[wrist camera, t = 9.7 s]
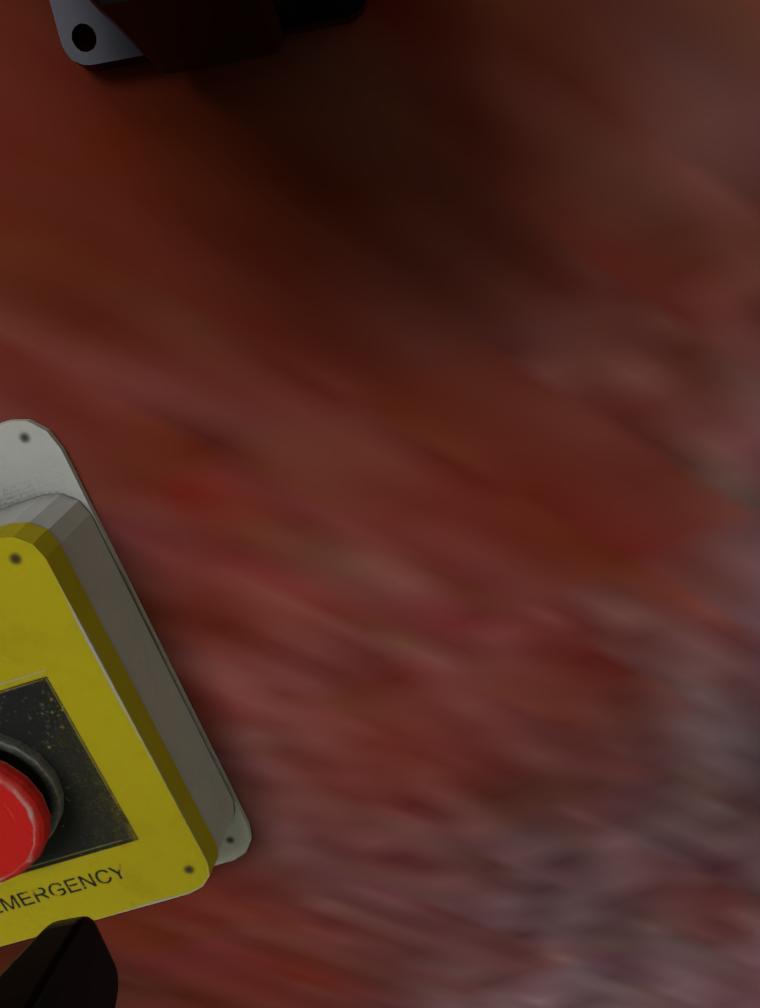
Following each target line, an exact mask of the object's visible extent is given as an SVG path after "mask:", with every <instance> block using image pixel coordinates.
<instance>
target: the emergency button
mask: <svg viewBox="0 0 760 1008" xmlns="http://www.w3.org/2000/svg"><path fill="white" fill-rule="evenodd" d="M251 839H252V834H251V829H250V824H249V821H248V819H247V817H246V815H245V813H244V811H243V809H242V807H241V805H240V803H239V801H238V799H237V797H236V795H235V793H234V791H233V789H232V787H231V785H230V783H229V781H228V778H227V776H226V774H225V772H224V770H223V768H222V766H221V764H220V762H219V760H218V758H217V756H216V754H215V752H214V750H213V748H212V746H211V744H210V742H209V740H208V738H207V736H206V734H205V732H204V730H203V728H202V726H201V724H200V722H199V720H198V718H197V716H196V714H195V712H194V710H193V708H192V706H191V704H190V702H189V700H188V698H187V696H186V693H185V691H184V689H183V687H182V685H181V683H180V681H179V679H178V677H177V675H176V673H175V671H174V669H173V667H172V665H171V663H170V661H169V659H168V657H167V655H166V653H165V651H164V649H163V647H162V645H161V643H160V641H159V639H158V637H157V635H156V633H155V631H154V629H153V627H152V625H151V623H150V621H149V619H148V617H147V615H146V613H145V611H144V608H143V606H142V604H141V602H140V600H139V598H138V596H137V594H136V592H135V590H134V588H133V586H132V584H131V582H130V580H129V578H128V576H127V574H126V572H125V570H124V568H123V566H122V564H121V562H120V560H119V558H118V556H117V554H116V552H115V550H114V548H113V546H112V544H111V542H110V540H109V538H108V536H107V534H106V532H105V530H104V528H103V526H102V523H101V521H100V519H99V517H98V515H97V513H96V511H95V509H94V507H93V505H92V503H91V501H90V499H89V497H88V495H87V493H86V491H85V489H84V487H83V485H82V483H81V481H80V479H79V477H78V475H77V473H76V471H75V469H74V467H73V465H72V463H71V461H70V459H69V457H68V455H67V453H66V451H65V449H64V447H63V446H62V445H61V443H60V442H59V441H58V439H57V438H56V437H55V436H54V434H53V433H52V432H51V431H50V430H49V429H48V428H46V427H44V426H42V425H40V424H38V423H36V422H34V421H33V420H31V419H16V420H8V421H5V422H2V423H0V946H4V945H8V944H11V943H15V942H18V941H22V940H25V939H29V938H33V937H36V936H38V935H39V934H40V933H41V931H42V930H44V929H45V928H46V927H47V926H48V925H49V924H51V923H53V922H55V921H59V920H65V919H70V918H75V917H81V916H88V917H90V918H91V919H92V920H97V919H101V918H104V917H108V916H111V915H115V914H119V913H122V912H126V911H129V910H133V909H137V908H140V907H144V906H147V905H151V904H154V903H158V902H162V901H165V900H169V899H172V898H176V897H179V896H183V895H187V894H190V893H192V892H194V891H195V890H197V889H199V888H201V887H203V886H204V884H205V882H206V881H207V879H208V877H209V876H210V874H211V872H212V870H213V867H214V866H215V865H219V864H222V863H226V862H230V861H233V860H235V859H237V858H238V857H240V856H242V855H243V854H245V853H246V851H247V849H248V847H249V844H250V842H251Z"/></svg>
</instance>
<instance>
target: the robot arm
mask: <svg viewBox="0 0 760 1008" xmlns="http://www.w3.org/2000/svg"><path fill="white" fill-rule="evenodd" d="M50 4H51V8H52V11H53V15H54V19H55V22H56V26H57V30H58V34H59V37H60V41H61V44H62V46H63V48H64V50H65V52H66V53H67V55H68V56H69V57H70V58H71V59H72V60H73V61H75V62H76V63H77V64H79V65H80V66H82V67H84V68H86V69H88V70H103V69H109V68H114V67H119V66H124V65H130V64H135V63H140V62H146V61H151V62H152V63H153V64H154V65H155V66H156V67H158V68H159V69H160V70H162V71H163V72H164V73H166V74H170V73H176V72H181V71H186V70H192V69H197V68H202V67H208V66H213V65H219V64H224V63H229V62H235V61H240V60H245V59H251V58H256V57H261V56H267V55H272V54H276V53H278V51H279V50H280V48H281V46H282V45H283V43H284V41H285V35H290V34H295V33H300V32H306V31H311V30H316V29H322V28H327V27H332V26H338V25H343V24H348V23H351V22H353V21H355V20H357V19H358V18H359V17H360V16H361V15H362V14H363V13H364V10H365V8H366V5H367V0H351V1H349V2H347V3H340V2H338V1H337V0H50ZM87 30H92V31H94V32H95V34H96V45H95V47H94V49H92V50H91V51H89V52H83V51H82V50H81V48H80V43H79V39H80V37H81V35H82V33H83V32H85V31H87ZM117 994H118V973H117V969H116V966H115V963H114V961H113V959H112V957H111V955H110V952H109V950H108V948H107V946H106V944H105V942H104V940H103V938H102V936H101V933H100V931H99V929H98V927H97V925H96V923H95V922H94V920H92V919H91V918H90V917H88V916H81V917H75V918H70V919H65V920H59V921H55V922H53V923H51V924H49V925H48V926H47V927H46V928H45V929H44V930H42V931H41V933H40V934H39V935H38V936H37V937H36V938H35V939H34V940H33V941H32V942H31V943H30V944H29V945H28V946H27V947H26V948H25V949H24V950H23V951H22V952H21V953H20V955H19V956H18V957H17V958H16V959H15V960H14V961H13V962H12V963H11V964H10V965H9V966H8V967H7V968H6V969H5V970H4V971H3V972H2V973H1V974H0V1008H115V1006H116V1000H117Z"/></svg>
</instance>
